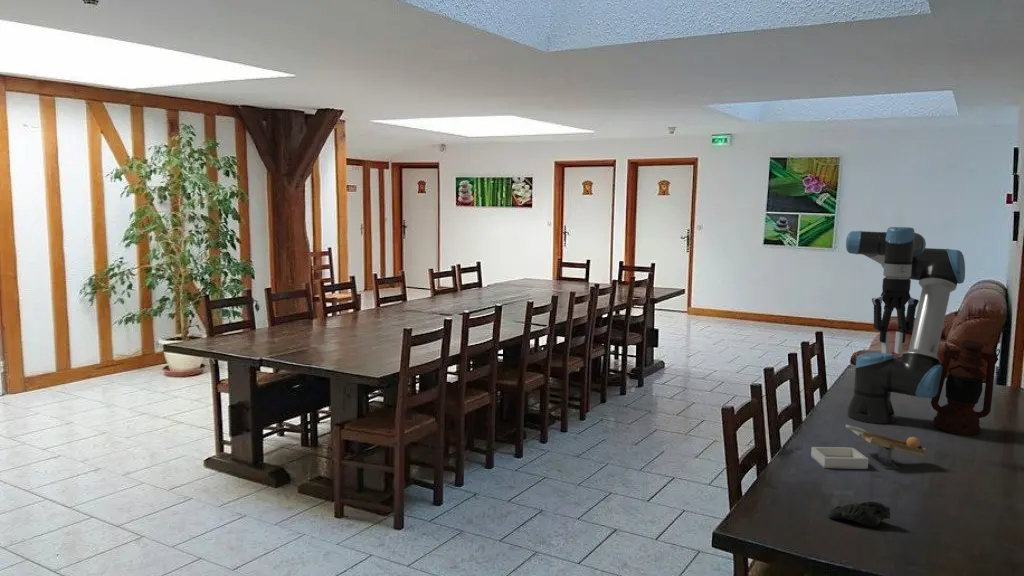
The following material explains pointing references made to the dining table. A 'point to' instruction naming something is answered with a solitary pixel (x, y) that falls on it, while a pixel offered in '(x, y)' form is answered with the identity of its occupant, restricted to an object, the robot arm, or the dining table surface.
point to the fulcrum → (884, 458)
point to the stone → (861, 513)
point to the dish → (839, 457)
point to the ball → (913, 442)
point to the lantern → (964, 388)
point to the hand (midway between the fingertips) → (891, 352)
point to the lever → (887, 441)
